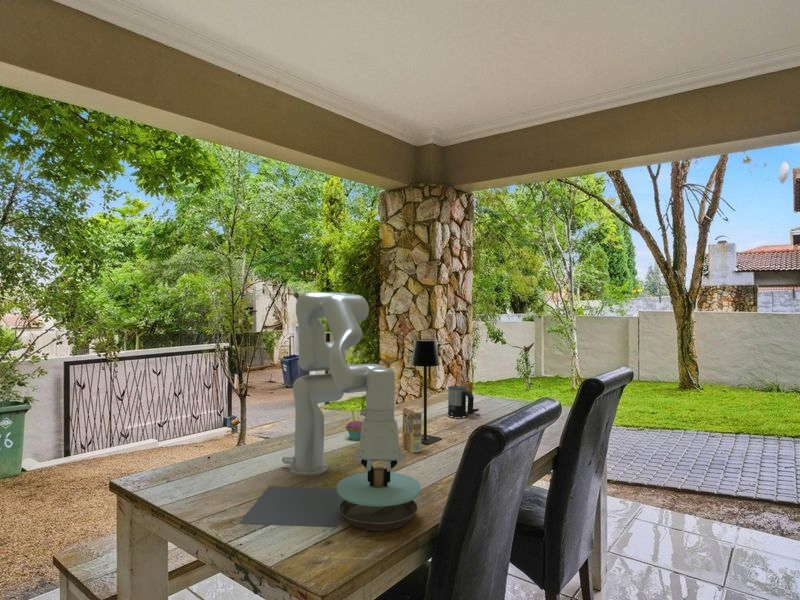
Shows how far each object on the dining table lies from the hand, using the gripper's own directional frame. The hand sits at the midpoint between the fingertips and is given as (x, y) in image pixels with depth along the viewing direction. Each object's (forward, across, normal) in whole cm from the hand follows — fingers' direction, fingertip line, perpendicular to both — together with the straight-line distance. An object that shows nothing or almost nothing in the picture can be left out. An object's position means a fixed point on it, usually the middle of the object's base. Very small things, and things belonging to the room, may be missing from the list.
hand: (378, 483), depth 130 cm
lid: (+1, 0, 0) cm, 1 cm away
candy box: (+9, +8, +60) cm, 61 cm away
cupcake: (+9, -15, +73) cm, 75 cm away
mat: (+9, -22, +5) cm, 24 cm away
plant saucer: (+9, 0, 0) cm, 9 cm away
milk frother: (+9, +33, +120) cm, 124 cm away
